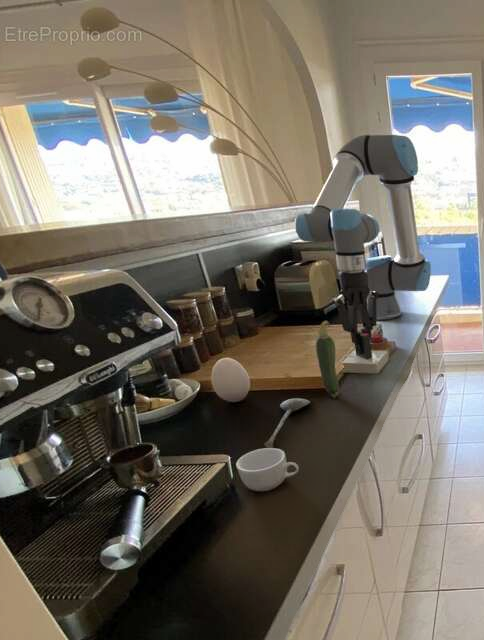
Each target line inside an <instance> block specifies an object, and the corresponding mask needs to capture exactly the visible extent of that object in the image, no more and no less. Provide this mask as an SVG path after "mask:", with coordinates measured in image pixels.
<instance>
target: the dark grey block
mask: <svg viewBox="0 0 484 640" xmlns="http://www.w3.org/2000/svg"><path fill="white" fill-rule="evenodd" d="M358 332H360V333H361V341H362V348H363V354H358V353H356V355H357V356H360V357H362V358H364V359H370V358H372V351H371V343H370V335H369V334H365V333H363V332H361V330H358Z"/></svg>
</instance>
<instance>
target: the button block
mask: <svg viewBox="0 0 484 640" xmlns="http://www.w3.org/2000/svg"><path fill="white" fill-rule="evenodd" d="M370 343H371V350H374V351H388V357H390V355H391V354H392V353H393V352H394V351H395V349H396V348H397V345H396V340H389V339H388V338H387V337H384V336H383V342H379V343H372V342H370Z"/></svg>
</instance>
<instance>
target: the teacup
mask: <svg viewBox="0 0 484 640" xmlns="http://www.w3.org/2000/svg"><path fill="white" fill-rule="evenodd" d="M235 466H236V470H237V473H238V474H239V477H240V480H241V481H242V483H243V484H244V486H245V487H246V488H247V489H249V490H251V491H255V492H268V491H270V490H271V491H272V490H274V489H275V488H277V487H279V486H280V485H281V484H282V483H283V482H284V480H285V479H287V478H290V477H293V476H295V475H296V474H298V473H299V471H300V468H299V465H298V464H297V463H296V462H293V461H288V462H287V457H286V453H285V451H284V450H283V449H281V448H276V447H273V448H267V447H265V448H258V449H254V450H252V451H248V452H247V453H244V454H243V455H242V456H241V457H239V458H238V460H237V461H236V463H235ZM290 466H293V467H294V468H295V471H293V472H288V468H289V467H290Z"/></svg>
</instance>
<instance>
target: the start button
mask: <svg viewBox="0 0 484 640" xmlns="http://www.w3.org/2000/svg"><path fill="white" fill-rule="evenodd" d="M371 335H372V339H371V340H370V342H372V343H379V342H383V337H384V335H383V333H371Z"/></svg>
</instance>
